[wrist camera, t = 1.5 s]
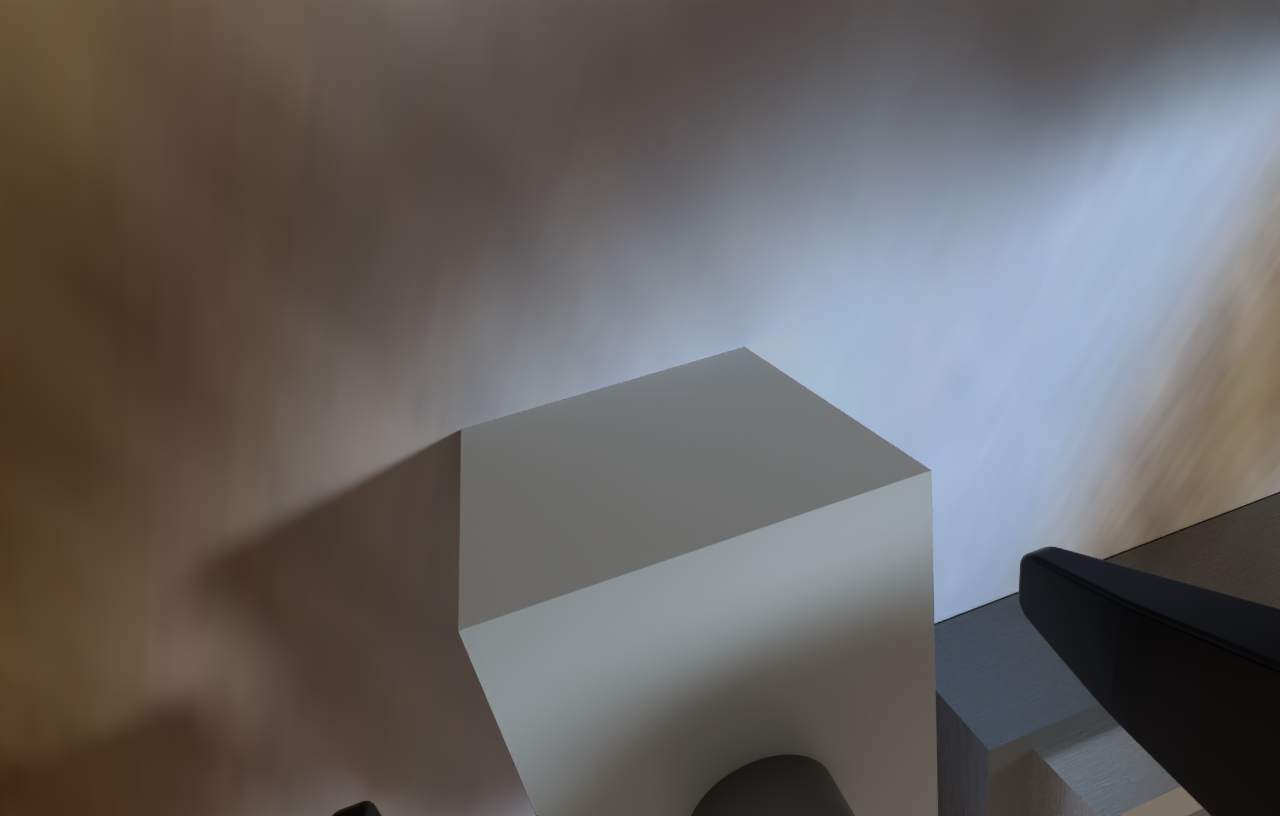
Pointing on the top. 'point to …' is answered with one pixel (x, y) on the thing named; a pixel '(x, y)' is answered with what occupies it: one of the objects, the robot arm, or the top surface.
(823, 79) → the top surface
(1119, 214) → the top surface
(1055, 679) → the motor mount
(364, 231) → the top surface
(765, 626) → the block
